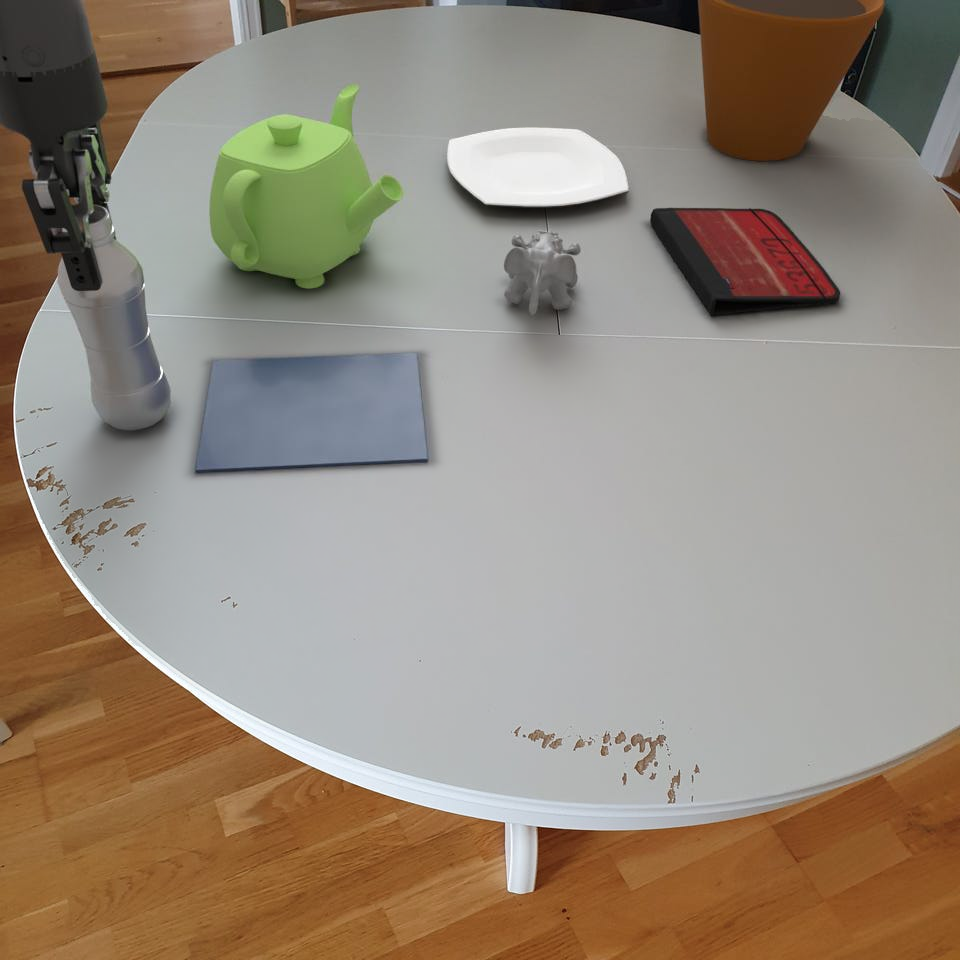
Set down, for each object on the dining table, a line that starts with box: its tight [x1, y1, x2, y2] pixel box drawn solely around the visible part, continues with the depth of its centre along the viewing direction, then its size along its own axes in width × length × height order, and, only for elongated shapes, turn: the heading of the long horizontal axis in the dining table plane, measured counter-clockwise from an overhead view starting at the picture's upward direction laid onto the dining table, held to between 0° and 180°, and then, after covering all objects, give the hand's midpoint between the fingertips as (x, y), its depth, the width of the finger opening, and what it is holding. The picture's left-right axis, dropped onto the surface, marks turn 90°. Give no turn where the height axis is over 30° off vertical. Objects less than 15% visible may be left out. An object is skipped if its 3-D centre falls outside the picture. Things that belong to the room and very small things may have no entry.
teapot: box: [209, 83, 404, 289], centre depth 102 cm, size 25×22×16 cm
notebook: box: [649, 207, 841, 317], centre depth 109 cm, size 16×2×21 cm
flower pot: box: [697, 0, 885, 162], centre depth 129 cm, size 24×24×20 cm
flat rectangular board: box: [194, 352, 429, 473], centre depth 87 cm, size 20×16×1 cm
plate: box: [446, 127, 630, 209], centre depth 124 cm, size 23×23×2 cm
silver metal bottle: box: [56, 205, 172, 431], centre depth 79 cm, size 6×7×20 cm
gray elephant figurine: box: [503, 229, 582, 315], centre depth 99 cm, size 9×12×8 cm
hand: (95, 266), depth 75 cm, fingers closed on silver metal bottle, 6 cm apart
